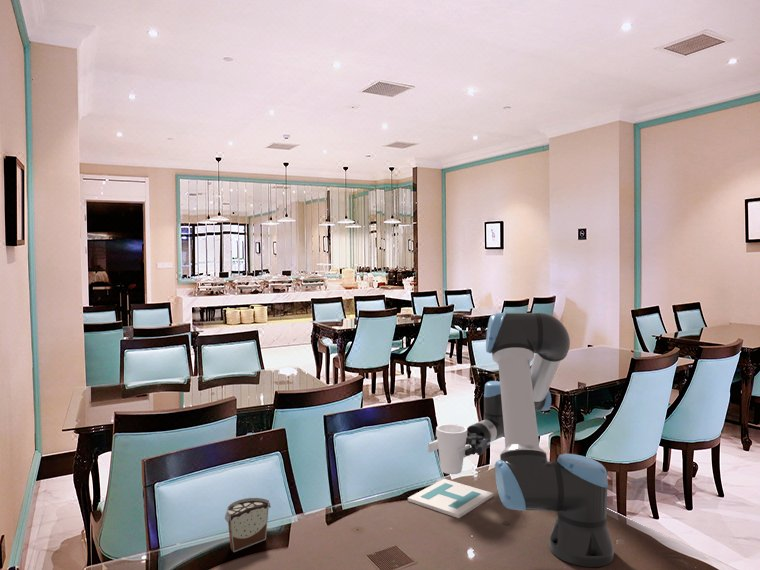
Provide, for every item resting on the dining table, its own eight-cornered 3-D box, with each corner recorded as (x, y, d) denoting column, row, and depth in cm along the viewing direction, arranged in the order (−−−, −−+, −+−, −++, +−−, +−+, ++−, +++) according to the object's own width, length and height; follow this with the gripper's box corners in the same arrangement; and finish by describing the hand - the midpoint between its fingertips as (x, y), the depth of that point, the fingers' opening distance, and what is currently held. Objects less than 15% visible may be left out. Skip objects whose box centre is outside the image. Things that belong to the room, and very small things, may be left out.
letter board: (492, 496, 173) (493, 492, 173) (458, 518, 157) (458, 514, 157) (444, 481, 184) (444, 478, 184) (407, 500, 169) (407, 497, 169)
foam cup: (468, 476, 166) (469, 433, 165) (437, 476, 166) (437, 433, 166) (464, 464, 175) (464, 424, 175) (434, 464, 176) (435, 423, 175)
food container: (257, 529, 150) (257, 492, 149) (270, 537, 145) (270, 499, 145) (215, 545, 141) (215, 506, 141) (228, 554, 137) (228, 514, 136)
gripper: (511, 452, 177) (475, 473, 160) (452, 438, 191) (413, 455, 174) (511, 429, 177) (476, 447, 160) (452, 416, 191) (413, 431, 174)
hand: (443, 451), depth 167 cm, fingers closed on foam cup, 9 cm apart
